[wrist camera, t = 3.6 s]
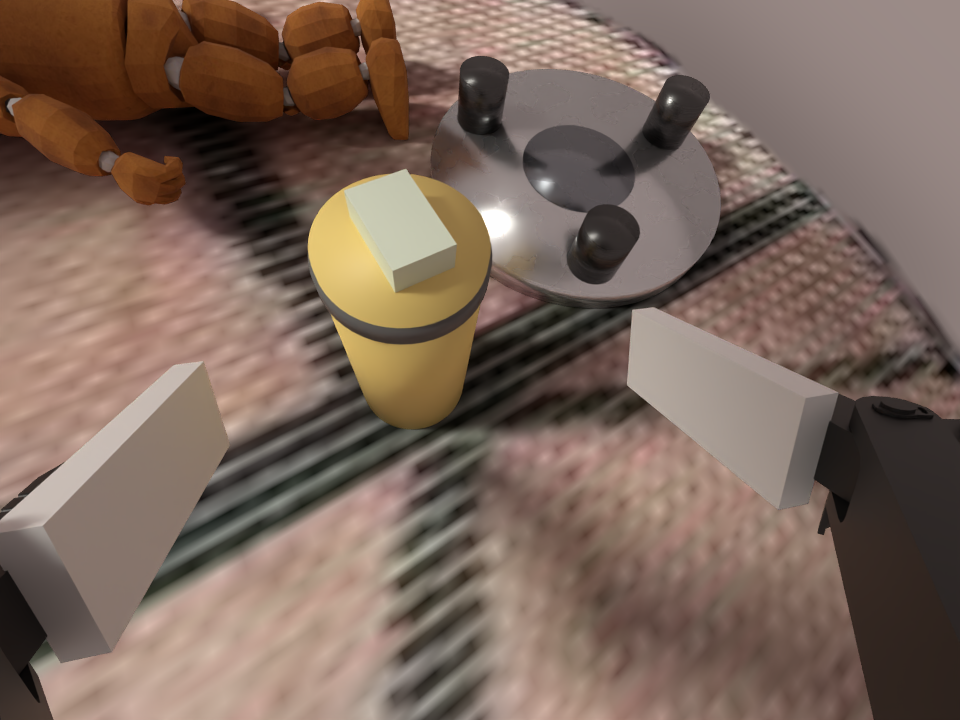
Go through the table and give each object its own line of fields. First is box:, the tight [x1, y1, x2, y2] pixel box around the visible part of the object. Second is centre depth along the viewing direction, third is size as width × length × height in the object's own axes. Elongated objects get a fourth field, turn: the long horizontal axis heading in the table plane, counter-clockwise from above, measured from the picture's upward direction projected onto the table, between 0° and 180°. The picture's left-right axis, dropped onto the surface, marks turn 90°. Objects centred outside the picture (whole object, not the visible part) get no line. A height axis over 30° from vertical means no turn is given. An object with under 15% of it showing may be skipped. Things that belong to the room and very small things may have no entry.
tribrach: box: [431, 56, 721, 308], centre depth 27 cm, size 18×18×4 cm
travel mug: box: [308, 169, 492, 429], centre depth 17 cm, size 5×5×12 cm
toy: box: [0, 0, 409, 205], centre depth 25 cm, size 20×7×30 cm
